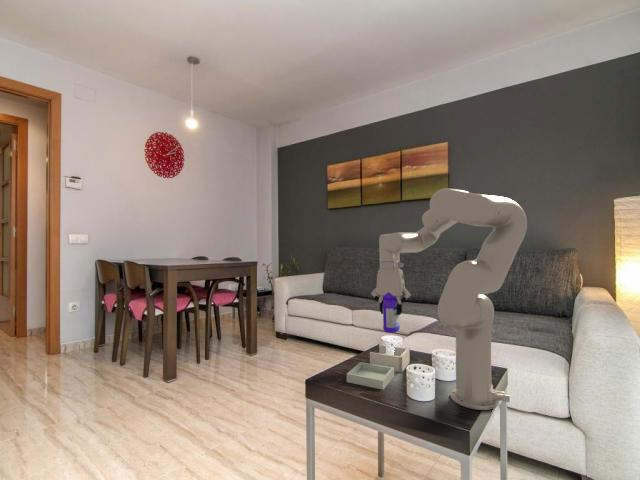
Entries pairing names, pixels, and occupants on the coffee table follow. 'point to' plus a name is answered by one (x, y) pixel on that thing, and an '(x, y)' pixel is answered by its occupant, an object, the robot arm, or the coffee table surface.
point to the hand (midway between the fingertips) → (390, 313)
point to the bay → (391, 358)
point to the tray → (370, 375)
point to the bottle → (390, 314)
